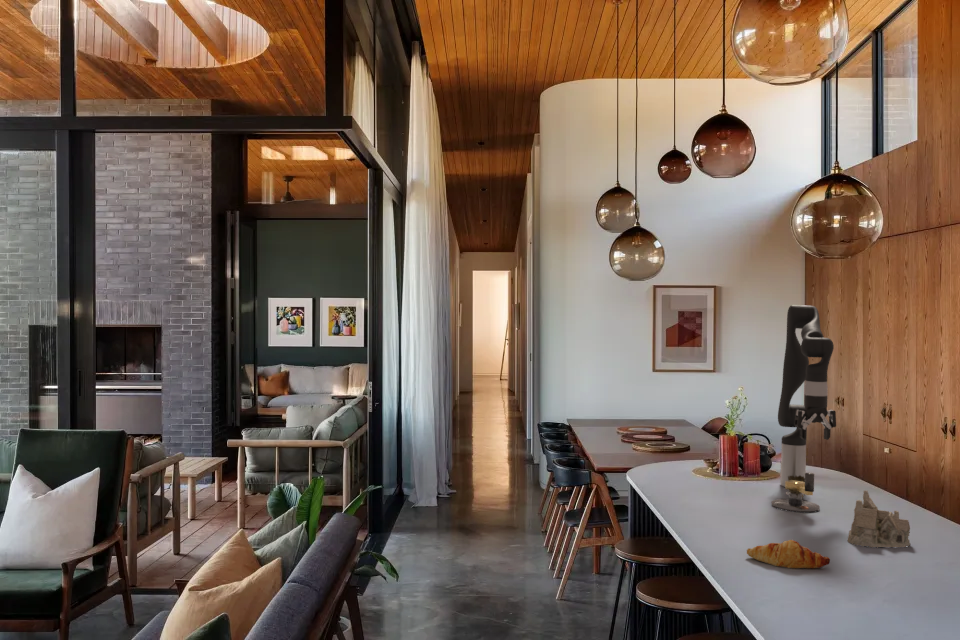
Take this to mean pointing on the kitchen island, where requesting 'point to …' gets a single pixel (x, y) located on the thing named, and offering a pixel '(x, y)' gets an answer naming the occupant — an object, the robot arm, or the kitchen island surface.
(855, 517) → the ceramic cottage
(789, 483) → the gold lever handle
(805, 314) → the robot arm
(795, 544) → the croissant
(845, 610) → the kitchen island surface
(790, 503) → the post base
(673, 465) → the kitchen island surface
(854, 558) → the kitchen island surface
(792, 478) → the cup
